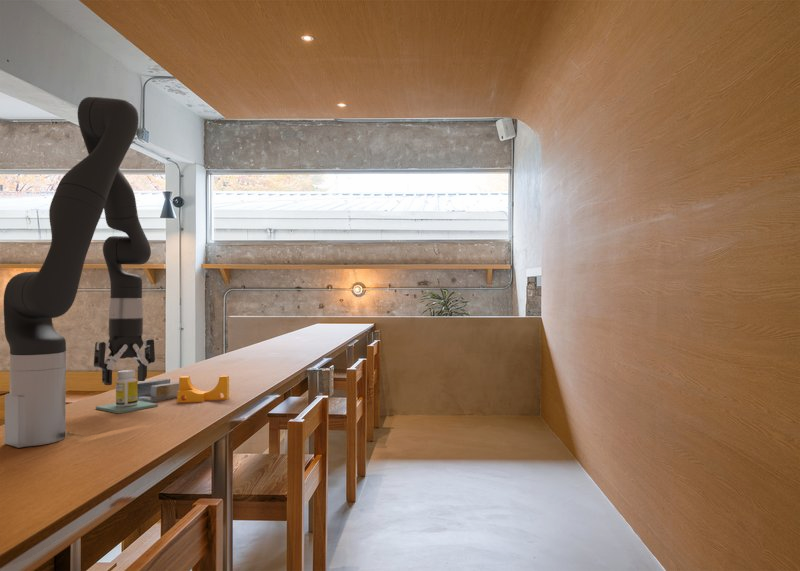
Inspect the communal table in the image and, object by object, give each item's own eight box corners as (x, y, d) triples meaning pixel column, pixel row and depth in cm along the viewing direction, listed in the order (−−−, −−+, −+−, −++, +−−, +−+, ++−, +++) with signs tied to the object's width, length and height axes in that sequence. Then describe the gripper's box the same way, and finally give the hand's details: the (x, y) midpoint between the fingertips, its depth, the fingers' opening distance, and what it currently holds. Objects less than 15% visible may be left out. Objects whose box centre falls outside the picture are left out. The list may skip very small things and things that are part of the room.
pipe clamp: (177, 404, 141) (177, 378, 141) (182, 400, 145) (182, 376, 145) (225, 402, 142) (225, 377, 142) (228, 399, 147) (228, 375, 147)
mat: (118, 413, 129) (118, 410, 129) (95, 409, 134) (95, 406, 134) (157, 406, 137) (157, 403, 137) (134, 402, 143) (134, 400, 143)
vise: (149, 403, 141) (149, 387, 141) (111, 397, 151) (111, 382, 151) (196, 395, 153) (196, 380, 153) (158, 389, 162) (158, 376, 163)
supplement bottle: (138, 402, 139) (138, 369, 139) (136, 406, 134) (136, 371, 135) (116, 404, 137) (117, 370, 137) (114, 407, 133) (114, 372, 133)
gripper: (105, 317, 128) (104, 387, 128) (161, 316, 140) (160, 380, 140) (88, 317, 132) (87, 385, 132) (144, 316, 144) (143, 378, 144)
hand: (125, 382), depth 136 cm, fingers open, 8 cm apart
